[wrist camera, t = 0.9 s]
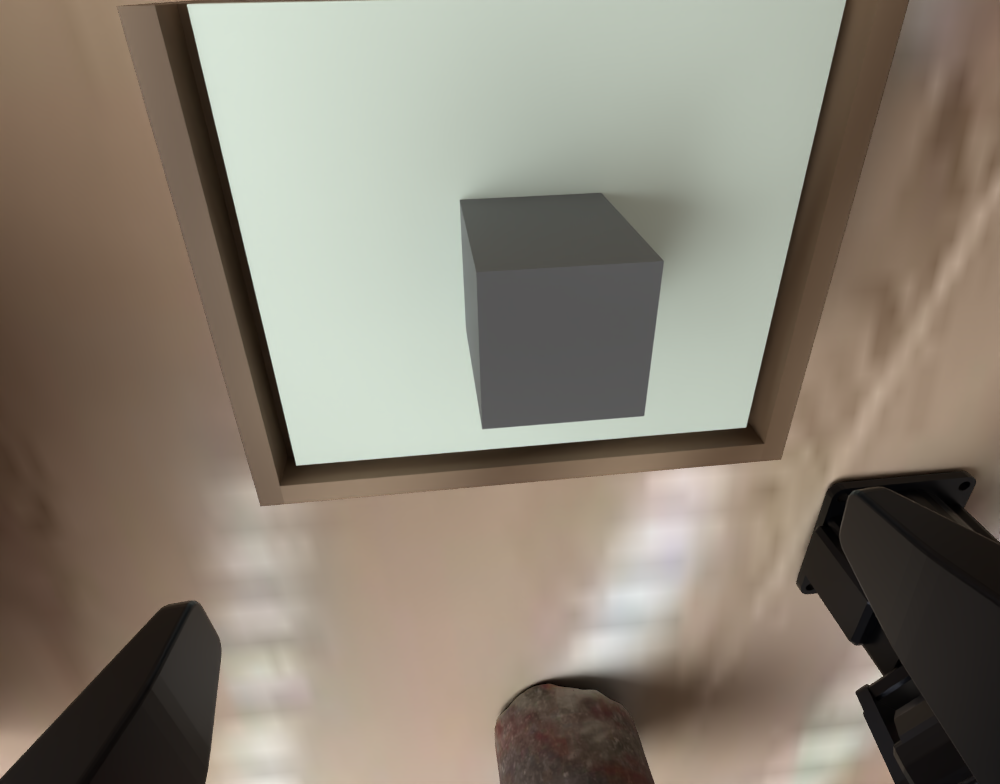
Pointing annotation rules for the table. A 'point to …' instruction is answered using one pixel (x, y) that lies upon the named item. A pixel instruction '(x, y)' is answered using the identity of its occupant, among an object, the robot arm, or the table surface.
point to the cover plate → (502, 126)
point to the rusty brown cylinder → (568, 740)
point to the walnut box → (262, 426)
